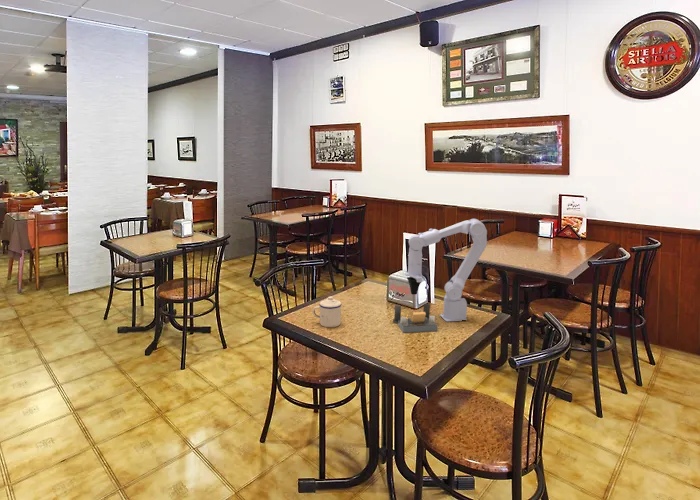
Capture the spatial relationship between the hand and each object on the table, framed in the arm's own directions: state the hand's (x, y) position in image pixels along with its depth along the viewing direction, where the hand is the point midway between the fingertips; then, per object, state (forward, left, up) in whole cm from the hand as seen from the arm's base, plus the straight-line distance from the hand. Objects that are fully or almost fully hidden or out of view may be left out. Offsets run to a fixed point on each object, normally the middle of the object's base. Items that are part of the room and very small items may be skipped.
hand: (413, 293), depth 192 cm
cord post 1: (+8, +5, -10) cm, 14 cm away
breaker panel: (+2, +13, -10) cm, 17 cm away
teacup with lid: (+38, +3, -11) cm, 40 cm away
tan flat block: (+2, +13, -7) cm, 15 cm away
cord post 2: (-4, +5, -10) cm, 12 cm away
